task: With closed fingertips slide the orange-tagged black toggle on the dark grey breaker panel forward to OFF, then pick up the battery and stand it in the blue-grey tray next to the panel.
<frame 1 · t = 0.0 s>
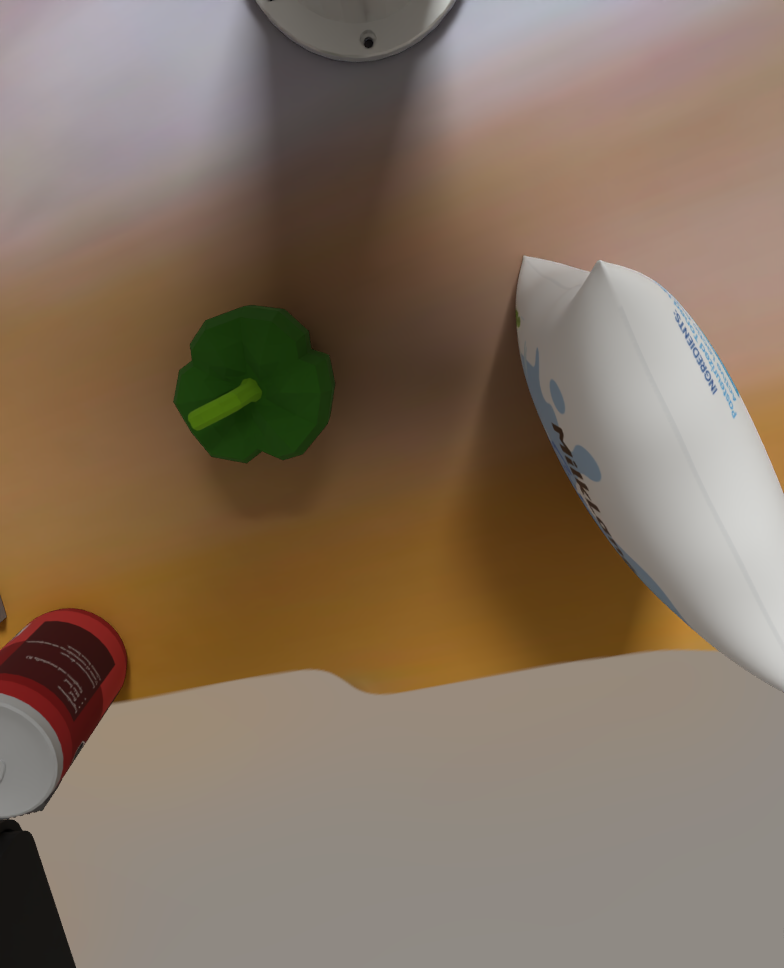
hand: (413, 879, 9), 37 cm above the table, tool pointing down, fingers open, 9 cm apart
pouch: (589, 397, 44), on the table
bell pepper: (274, 369, 44), on the table
canned food: (77, 654, 50), on the table
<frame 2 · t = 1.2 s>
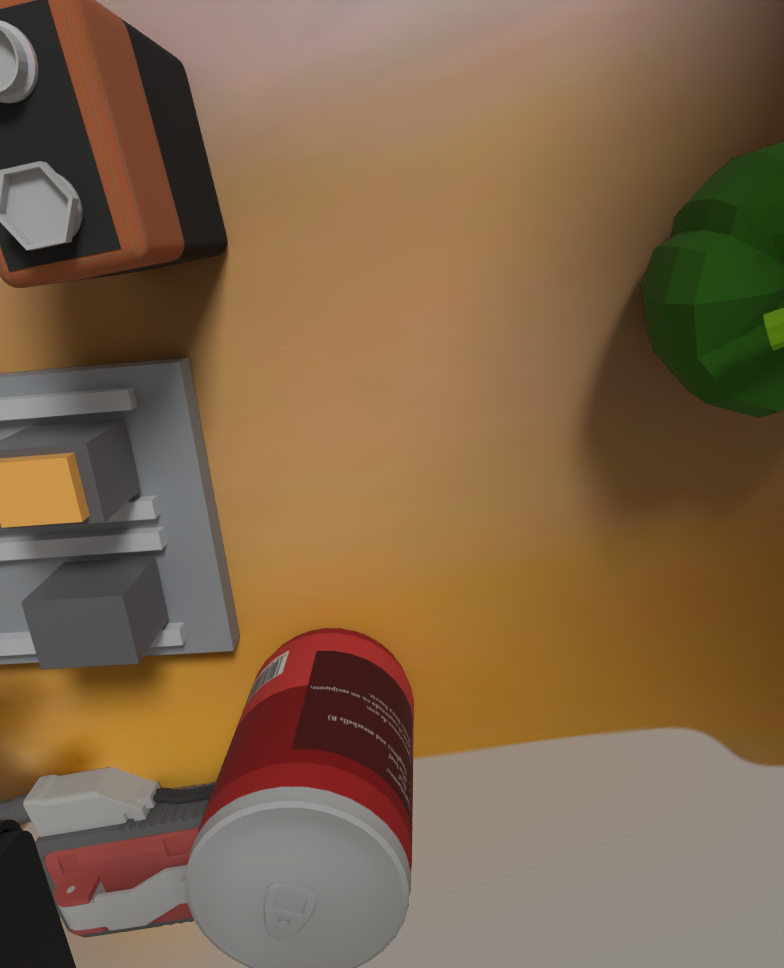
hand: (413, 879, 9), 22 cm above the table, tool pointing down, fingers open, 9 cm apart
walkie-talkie: (114, 826, 38), on the table
toggle plain: (99, 610, 29), point 3 cm above the table, slide at 0.0 cm
breaker panel: (39, 519, 32), on the table
battery: (156, 170, 27), on the table
bell pepper: (720, 270, 27), on the table
canned food: (334, 692, 34), on the table
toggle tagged: (61, 474, 27), point 4 cm above the table, slide at 0.0 cm
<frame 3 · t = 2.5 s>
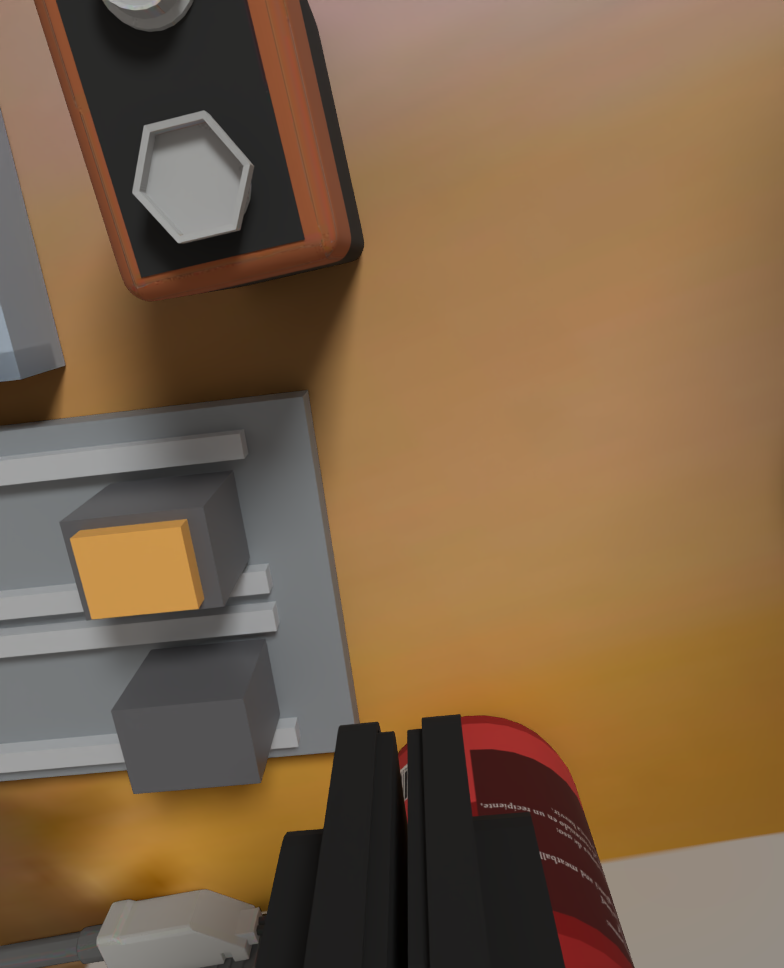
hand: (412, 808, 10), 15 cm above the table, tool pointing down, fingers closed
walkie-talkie: (197, 957, 32), on the table
toggle plain: (202, 712, 23), point 3 cm above the table, slide at 0.0 cm
breaker panel: (115, 594, 26), on the table
battery: (273, 158, 22), on the table
canned food: (473, 791, 28), on the table
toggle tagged: (160, 545, 21), point 4 cm above the table, slide at 0.0 cm
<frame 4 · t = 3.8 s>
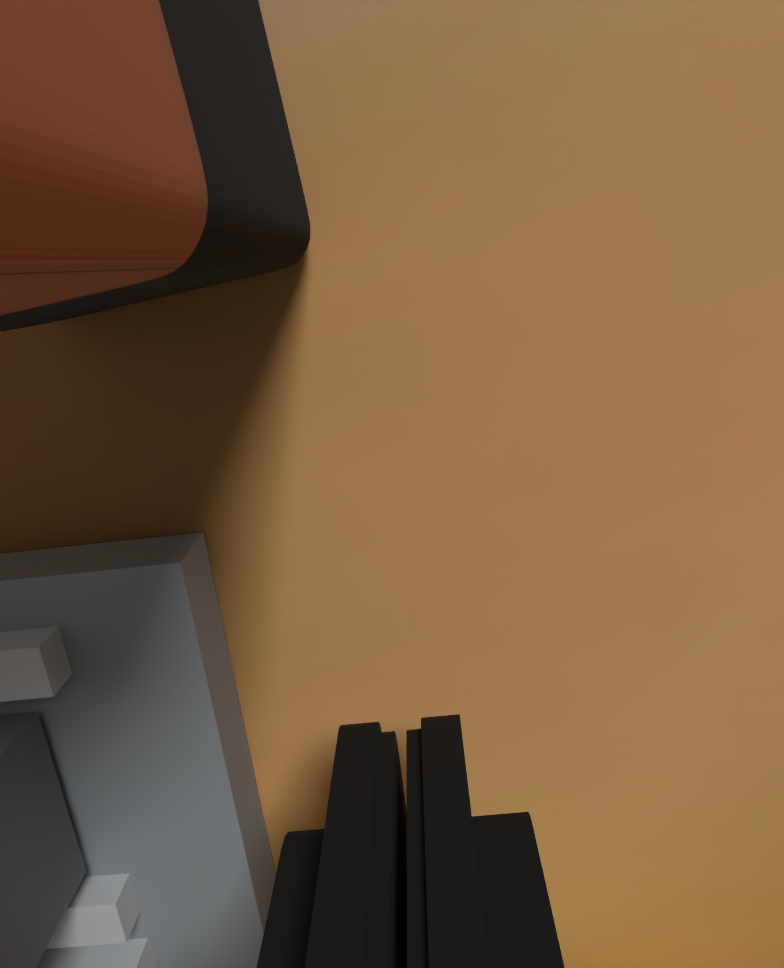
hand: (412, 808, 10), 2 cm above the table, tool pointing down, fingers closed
battery: (105, 35, 10), on the table
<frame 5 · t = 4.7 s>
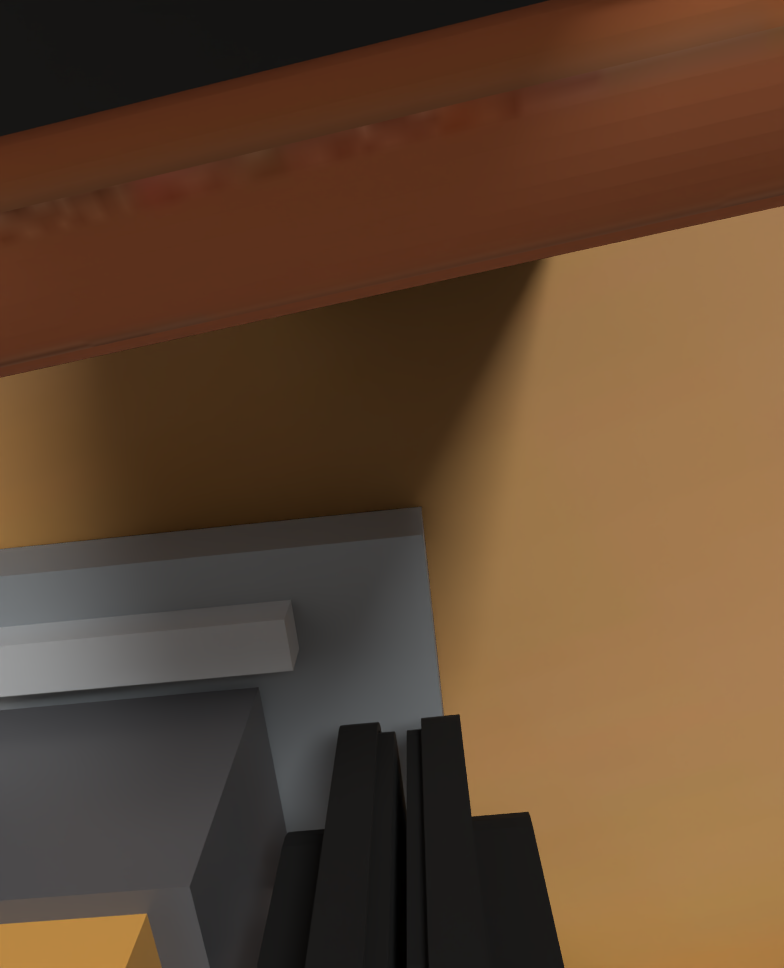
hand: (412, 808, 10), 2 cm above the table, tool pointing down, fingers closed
breaker panel: (32, 874, 14), on the table
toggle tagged: (90, 896, 9), point 4 cm above the table, slide at 0.1 cm, touching gripper
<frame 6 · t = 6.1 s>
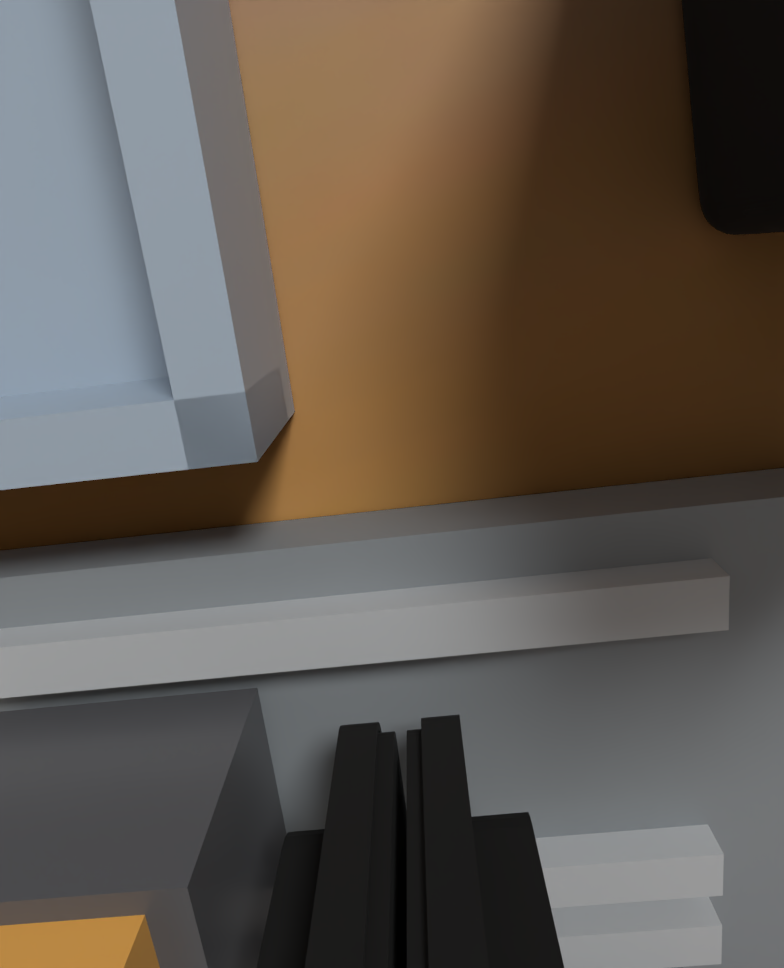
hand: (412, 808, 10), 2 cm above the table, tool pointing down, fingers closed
breaker panel: (348, 850, 13), on the table
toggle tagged: (89, 897, 9), point 4 cm above the table, slide at 6.1 cm, touching gripper
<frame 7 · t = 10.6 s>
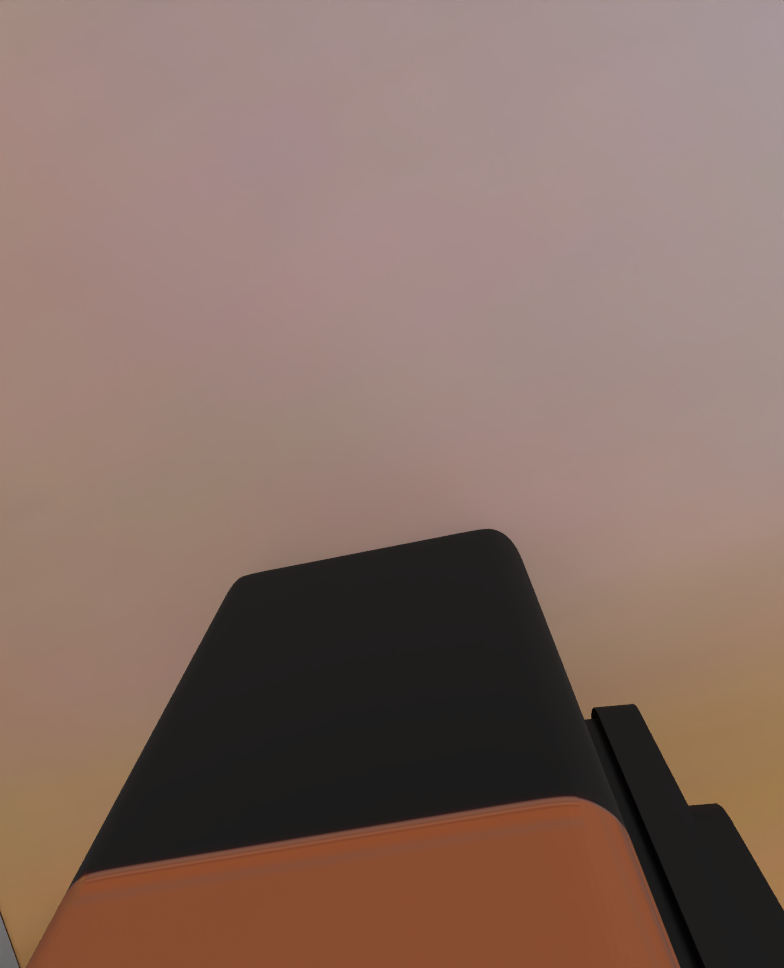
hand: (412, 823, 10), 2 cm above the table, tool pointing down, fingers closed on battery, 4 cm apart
battery: (411, 725, 12), on the table, touching gripper
when the fingers open (3 cm above the table, at t = 15.7 s): battery stays where it is, resting on blue-grey tray.
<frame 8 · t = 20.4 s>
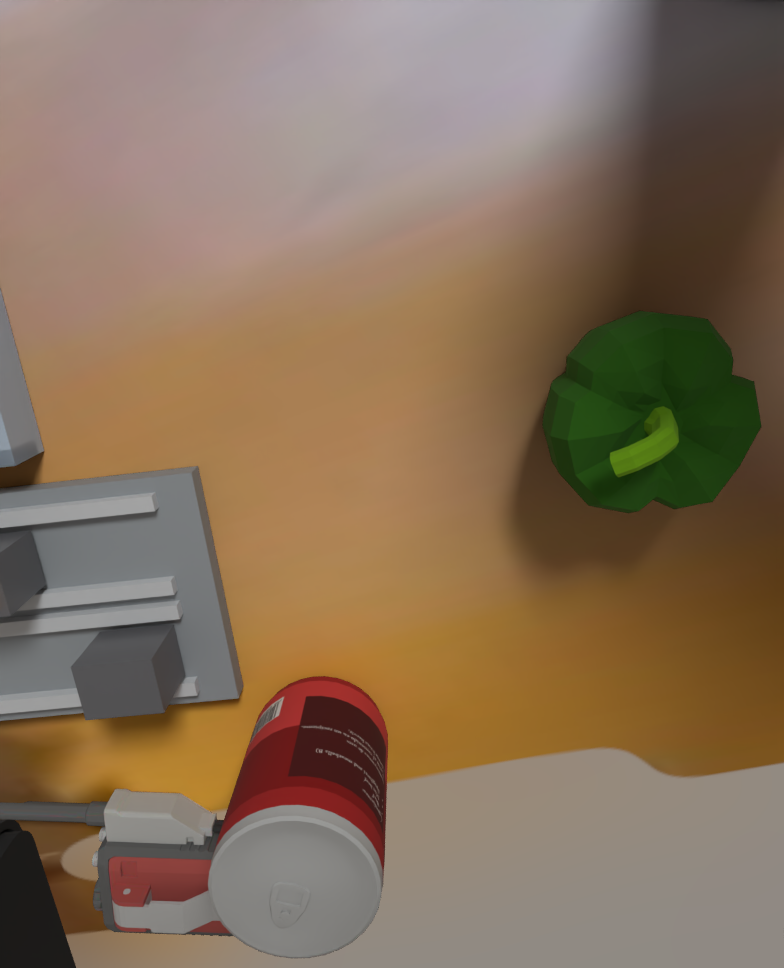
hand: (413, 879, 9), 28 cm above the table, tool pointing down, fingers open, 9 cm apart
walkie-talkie: (158, 840, 45), on the table
toggle plain: (131, 670, 37), point 3 cm above the table, slide at 0.0 cm
breaker panel: (77, 596, 39), on the table
bell pepper: (608, 389, 36), on the table
canned food: (322, 729, 42), on the table
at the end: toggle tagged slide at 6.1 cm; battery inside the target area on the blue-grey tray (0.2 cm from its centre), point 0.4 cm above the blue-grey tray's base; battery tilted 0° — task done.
